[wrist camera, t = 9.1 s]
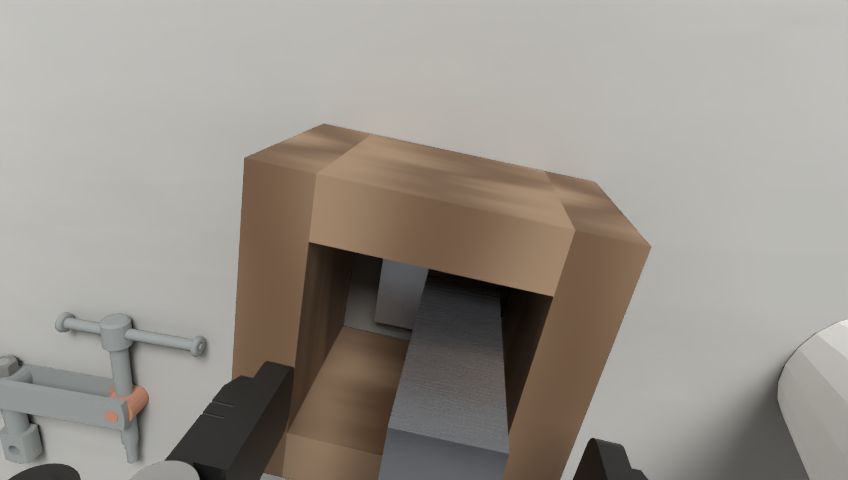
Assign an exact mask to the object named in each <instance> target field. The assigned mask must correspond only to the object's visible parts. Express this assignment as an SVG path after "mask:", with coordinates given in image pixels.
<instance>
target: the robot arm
mask: <svg viewBox="0 0 848 480" xmlns="http://www.w3.org/2000/svg"><path fill="white" fill-rule="evenodd" d="M293 381H294V367H292V366H288V365H283V364H279V363H275V362H271V361H265V362H264V363H263V365H262V366H261V368H260V369H259V370H258V372H257V373H256V375H255V376H254V377H253V378H251V377H247V376H242V375H240V376H239V377H237V378H236V379H234V380H232V381H231V382H229V383H227V384H226V385H224V386H223V387H222V388H221V390H220V391H219V392H218V394H217V395H216V396H215V397H214V399H213V400H212V403H210V404H209V405H208V406H207V408H206V409H205V410H204V411H203V414H202V415H200V416H199V418H198V419H197V420H196V422H195V423H194V424H193V425H192V427H191V428H190V429H189V430H188V432H187V433H186V434H185V436H184V437H183V438H182V439H181V441H180V442H179V443H178V444H177V446H176V447H175V448H174V449H173V451H172V452H171V453H170V455H169V456H168V457H167V458H166V459H165V461H163V462H158V463H155V464H152V465H150V466H147V467H145V468H144V469H142V470H140V471H139V472H138V473H136V474H135V475H134V476H133V477H132V478H131V479H130V480H260V478H261V476H262V474H263V472H264V470H265V468H266V466H267V464H268V463H269V461H270V459H271V457H272V455H273V453H274V451H275V449H276V447H277V446H278V444H279V442H280V440H281V438H282V436H283V434H284V431H285V429H286V426H287V423H288V419H289V415H290V408H291V399H292V390H293ZM9 480H81V479H80V475H79V473H78V472H77V471H76V470H75V469H74V468H72V467H70V466H68V465H64V464H44V465H40V466H35V467H32V468H29V469H27V470H25V471H22V472H20V473H18V474H17V475H15V476H13V477H12V478H10V479H9ZM573 480H648V479H647V478H646V476H645V475H644V474H643V473H642V471H641V470H636V469H632V468H631V466H630V463H629V460H628V457H627V455H626V452H625V449H624V447H623V446H622V445H621V444H617V443H612V442H608V441H604V440H599V439H595V438H591V439H590V440H589V442H588V444H587V446H586V448H585V451H584V453H583V456H582V458H581V461H580V463H579V466H578V468H577V471H576V473H575V476H574V478H573Z"/></svg>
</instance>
